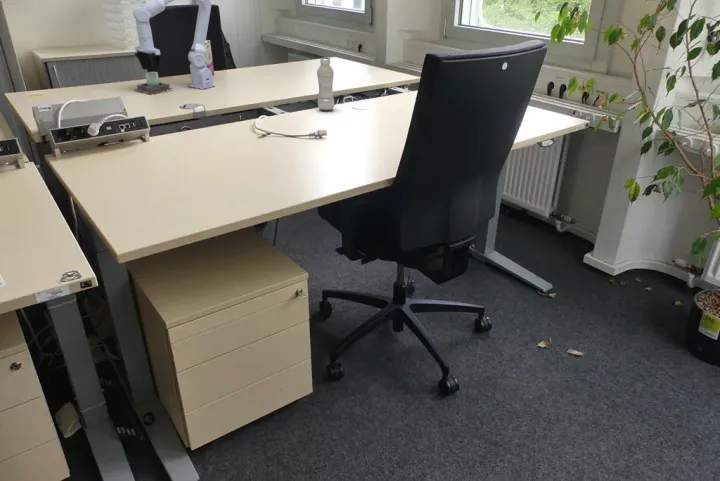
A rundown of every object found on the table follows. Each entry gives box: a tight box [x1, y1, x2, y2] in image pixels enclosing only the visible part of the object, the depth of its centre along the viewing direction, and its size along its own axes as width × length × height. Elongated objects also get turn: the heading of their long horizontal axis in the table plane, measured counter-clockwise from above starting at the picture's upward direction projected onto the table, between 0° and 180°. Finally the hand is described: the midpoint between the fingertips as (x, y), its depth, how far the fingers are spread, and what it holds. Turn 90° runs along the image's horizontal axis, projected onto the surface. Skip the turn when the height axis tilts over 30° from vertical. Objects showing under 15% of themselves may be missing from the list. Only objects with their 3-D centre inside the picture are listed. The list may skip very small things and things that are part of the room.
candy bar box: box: [205, 39, 215, 77], centre depth 265 cm, size 11×5×16 cm, turn 179°
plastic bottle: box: [316, 57, 335, 112], centre depth 213 cm, size 6×7×20 cm
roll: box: [144, 71, 160, 87], centre depth 241 cm, size 5×5×7 cm
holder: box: [133, 81, 174, 95], centre depth 242 cm, size 12×12×3 cm
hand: (150, 70), depth 238 cm, fingers open, 7 cm apart
